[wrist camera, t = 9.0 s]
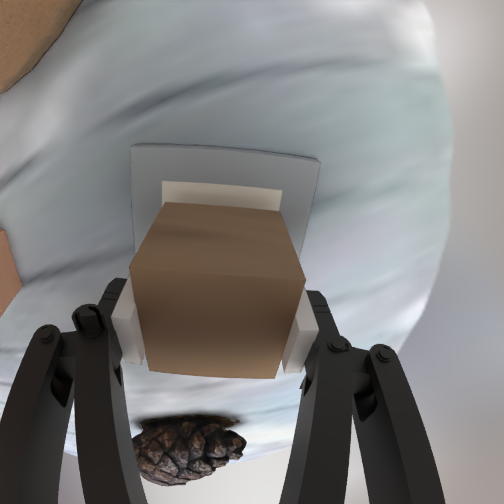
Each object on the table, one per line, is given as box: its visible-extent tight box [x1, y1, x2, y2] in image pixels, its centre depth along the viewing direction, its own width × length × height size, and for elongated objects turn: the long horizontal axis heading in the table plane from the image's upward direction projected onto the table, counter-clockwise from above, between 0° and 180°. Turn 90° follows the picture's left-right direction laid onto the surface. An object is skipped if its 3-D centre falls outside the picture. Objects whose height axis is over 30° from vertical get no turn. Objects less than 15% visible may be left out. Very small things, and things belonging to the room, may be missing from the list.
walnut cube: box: [129, 202, 306, 379], centre depth 13 cm, size 6×6×6 cm
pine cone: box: [132, 415, 247, 486], centre depth 29 cm, size 10×18×10 cm, turn 123°
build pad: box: [130, 144, 321, 259], centre depth 18 cm, size 11×11×1 cm
